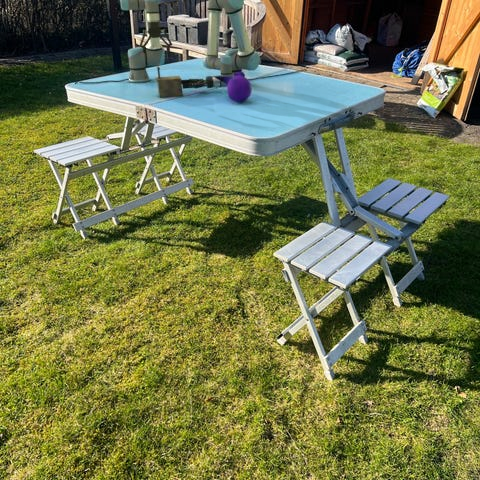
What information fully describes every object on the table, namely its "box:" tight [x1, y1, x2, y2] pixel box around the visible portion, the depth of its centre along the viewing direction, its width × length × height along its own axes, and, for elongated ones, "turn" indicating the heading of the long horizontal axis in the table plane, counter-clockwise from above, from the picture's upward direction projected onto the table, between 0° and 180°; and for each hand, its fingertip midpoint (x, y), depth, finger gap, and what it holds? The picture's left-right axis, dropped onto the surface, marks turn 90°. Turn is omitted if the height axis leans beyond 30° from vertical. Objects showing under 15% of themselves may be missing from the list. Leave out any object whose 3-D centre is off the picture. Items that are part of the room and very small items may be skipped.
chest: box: [156, 79, 184, 99], centre depth 293 cm, size 15×9×10 cm, turn 105°
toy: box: [215, 71, 252, 103], centre depth 277 cm, size 16×18×27 cm
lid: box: [154, 65, 182, 83], centre depth 289 cm, size 16×9×8 cm, turn 105°
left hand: (157, 58), depth 283 cm, fingers open, 13 cm apart
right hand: (180, 84), depth 293 cm, fingers open, 13 cm apart
